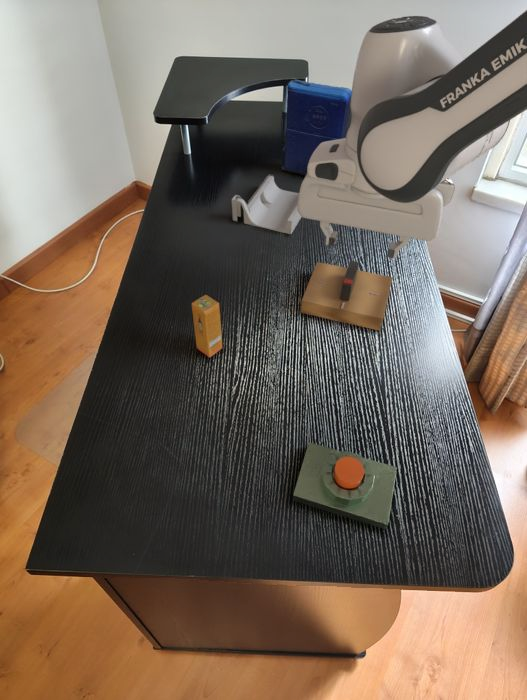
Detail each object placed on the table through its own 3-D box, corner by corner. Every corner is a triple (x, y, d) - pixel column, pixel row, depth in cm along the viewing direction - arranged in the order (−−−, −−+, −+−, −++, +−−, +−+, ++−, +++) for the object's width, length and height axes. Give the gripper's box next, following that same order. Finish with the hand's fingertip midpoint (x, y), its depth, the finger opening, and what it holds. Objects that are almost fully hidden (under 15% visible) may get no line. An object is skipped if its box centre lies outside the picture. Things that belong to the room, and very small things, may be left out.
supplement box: (224, 347, 79) (220, 303, 71) (209, 358, 77) (203, 315, 70) (211, 336, 80) (205, 292, 73) (195, 348, 79) (188, 304, 71)
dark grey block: (347, 275, 86) (350, 259, 83) (356, 277, 86) (359, 261, 83) (339, 299, 82) (342, 282, 79) (348, 301, 82) (352, 284, 79)
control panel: (389, 289, 88) (392, 276, 86) (379, 330, 81) (383, 317, 79) (315, 274, 91) (317, 260, 88) (300, 312, 84) (301, 299, 82)
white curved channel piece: (291, 234, 99) (292, 213, 95) (232, 220, 102) (231, 199, 98) (313, 197, 108) (315, 176, 104) (259, 186, 111) (259, 165, 107)
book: (279, 173, 115) (281, 84, 100) (286, 163, 118) (290, 75, 103) (336, 185, 111) (348, 94, 96) (342, 174, 115) (355, 85, 99)
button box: (394, 472, 64) (400, 460, 62) (385, 529, 59) (391, 518, 57) (308, 448, 67) (309, 435, 64) (292, 500, 62) (293, 489, 59)
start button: (364, 467, 61) (366, 461, 60) (359, 492, 59) (361, 486, 58) (336, 459, 62) (338, 453, 61) (330, 484, 60) (332, 478, 58)
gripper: (460, 164, 62) (433, 251, 73) (309, 141, 67) (303, 226, 77) (456, 189, 58) (428, 276, 69) (296, 162, 63) (292, 248, 73)
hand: (361, 249), depth 73 cm, fingers open, 8 cm apart
